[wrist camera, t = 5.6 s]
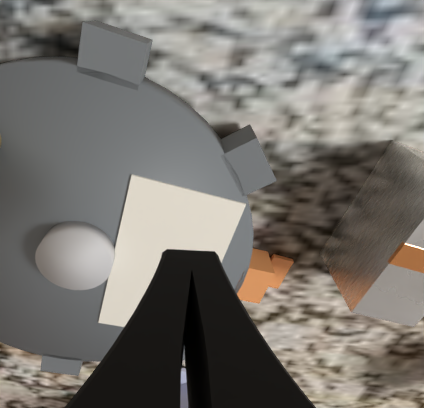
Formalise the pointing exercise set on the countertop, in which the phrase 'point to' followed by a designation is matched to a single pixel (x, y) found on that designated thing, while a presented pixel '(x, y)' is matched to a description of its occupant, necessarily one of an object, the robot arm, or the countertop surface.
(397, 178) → the orange-banded grey block
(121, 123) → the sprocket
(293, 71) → the countertop surface
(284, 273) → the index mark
